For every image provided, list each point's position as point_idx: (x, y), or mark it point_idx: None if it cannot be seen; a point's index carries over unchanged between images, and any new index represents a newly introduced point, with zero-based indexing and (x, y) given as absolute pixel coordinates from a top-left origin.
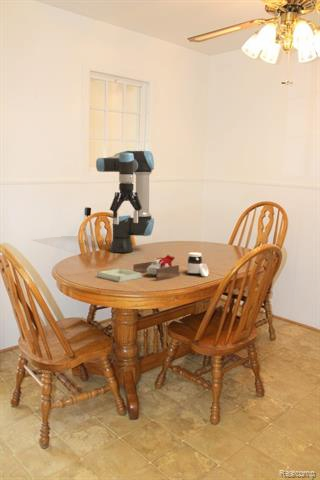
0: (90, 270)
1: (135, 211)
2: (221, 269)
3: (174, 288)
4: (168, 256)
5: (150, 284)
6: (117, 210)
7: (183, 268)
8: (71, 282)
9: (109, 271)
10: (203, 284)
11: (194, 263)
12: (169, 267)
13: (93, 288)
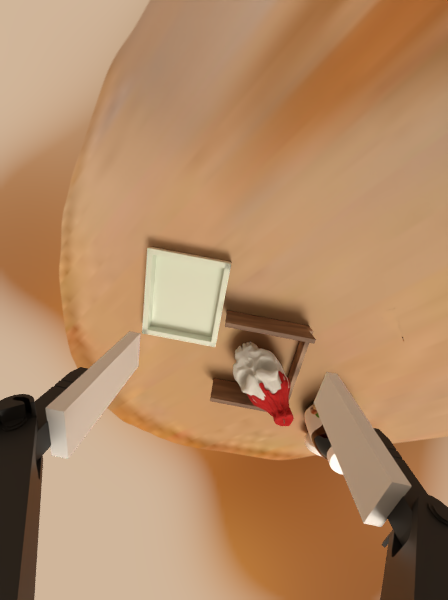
0: (211, 148)
1: (369, 493)
2: (425, 430)
3: (179, 430)
4: (274, 419)
5: (176, 386)
6: (39, 470)
7: (397, 357)
8: (63, 241)
9: (186, 260)
10: (240, 452)
11: (313, 444)
12: (252, 408)
13: (68, 322)
